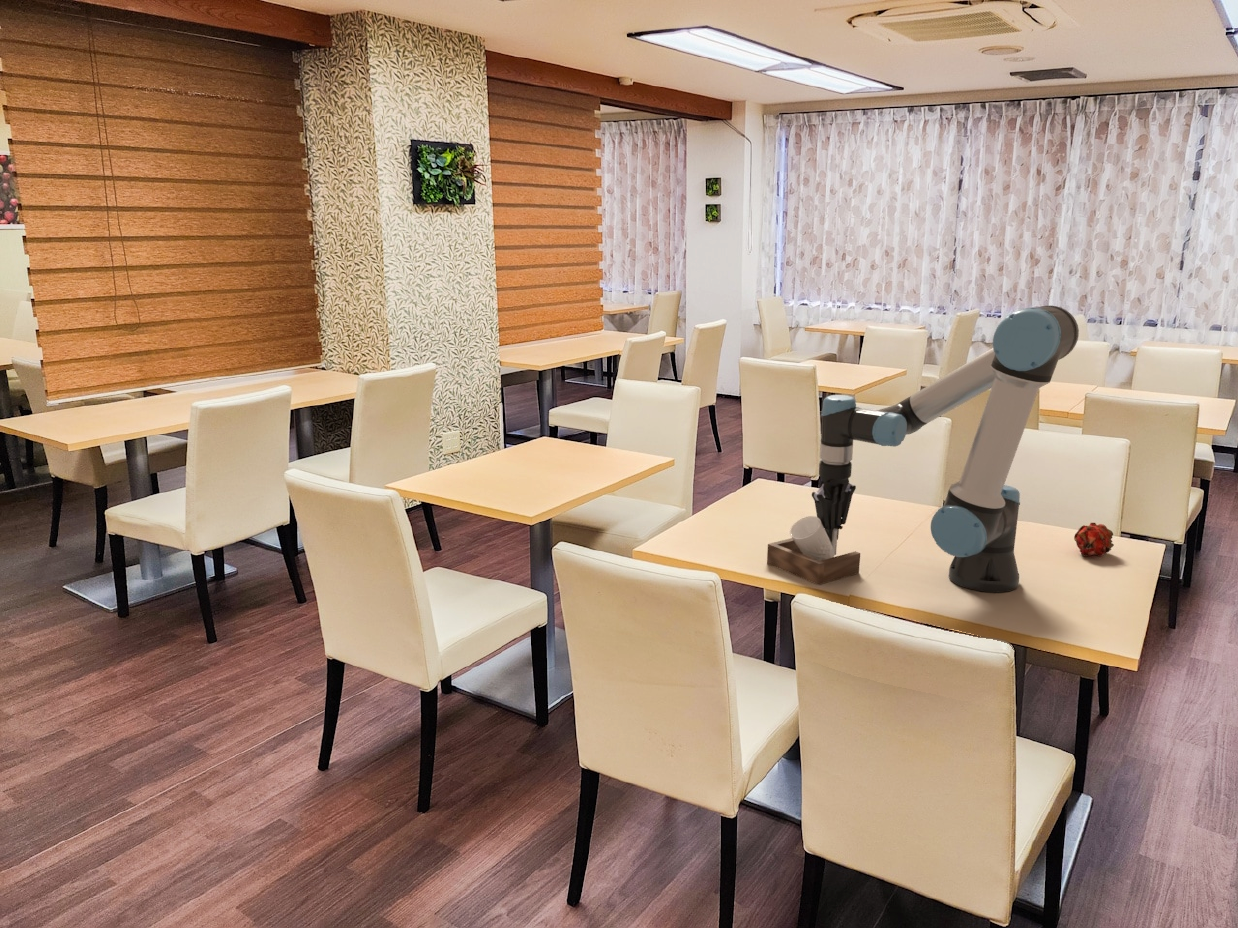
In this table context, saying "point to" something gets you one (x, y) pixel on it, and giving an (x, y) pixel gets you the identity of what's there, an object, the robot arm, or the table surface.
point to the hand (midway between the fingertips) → (830, 553)
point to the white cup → (812, 538)
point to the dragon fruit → (1094, 539)
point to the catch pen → (811, 563)
